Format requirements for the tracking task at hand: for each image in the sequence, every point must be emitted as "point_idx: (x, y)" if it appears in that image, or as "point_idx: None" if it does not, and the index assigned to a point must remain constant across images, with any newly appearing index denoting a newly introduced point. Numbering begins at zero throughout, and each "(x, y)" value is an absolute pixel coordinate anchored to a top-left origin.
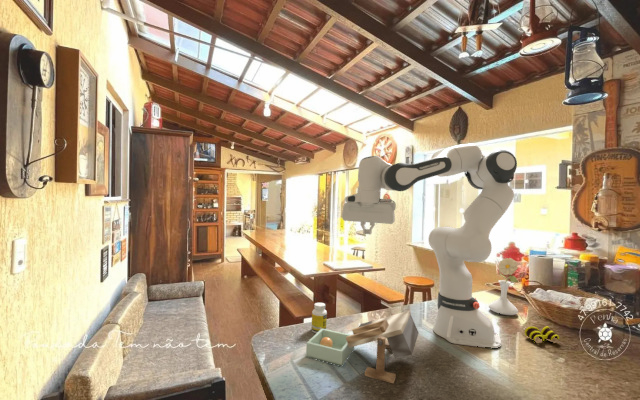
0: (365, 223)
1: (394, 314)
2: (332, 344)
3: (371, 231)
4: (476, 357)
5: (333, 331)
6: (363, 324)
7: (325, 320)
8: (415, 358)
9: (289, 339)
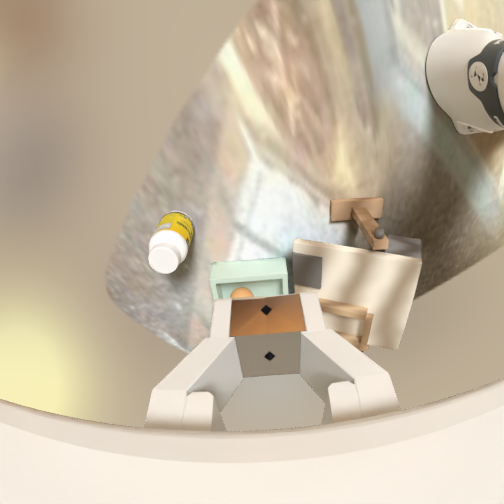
0: (212, 407)
1: (380, 246)
2: (253, 296)
3: (320, 313)
4: (486, 172)
5: (238, 279)
6: (302, 264)
7: (190, 241)
8: (397, 228)
9: (158, 285)
